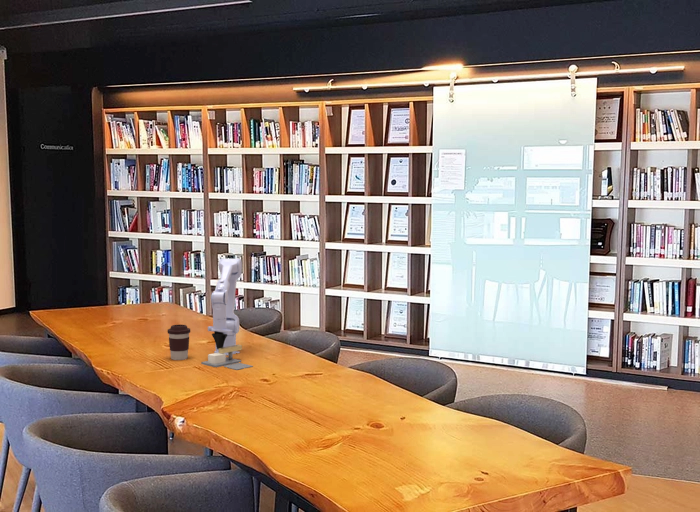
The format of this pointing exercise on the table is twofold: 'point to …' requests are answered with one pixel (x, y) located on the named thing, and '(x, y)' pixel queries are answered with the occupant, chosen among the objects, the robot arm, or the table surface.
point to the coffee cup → (179, 341)
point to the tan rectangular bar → (230, 348)
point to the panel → (228, 361)
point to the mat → (238, 366)
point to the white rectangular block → (216, 358)
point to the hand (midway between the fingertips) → (219, 349)
